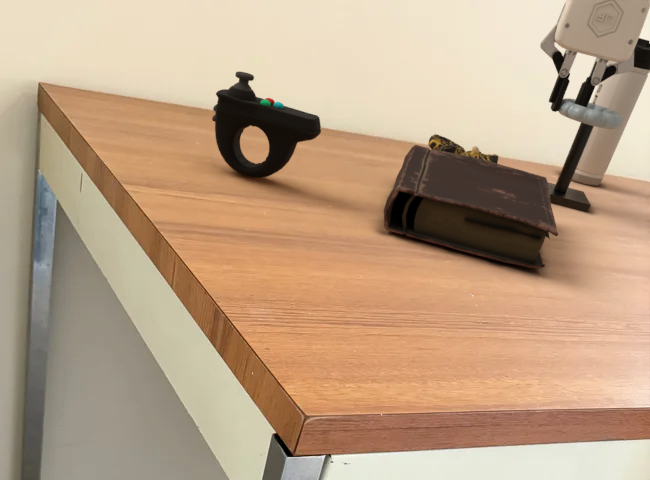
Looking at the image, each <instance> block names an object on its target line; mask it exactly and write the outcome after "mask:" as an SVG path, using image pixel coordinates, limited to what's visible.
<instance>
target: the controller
mask: <svg viewBox="0 0 650 480" xmlns="http://www.w3.org/2000/svg"><path fill="white" fill-rule="evenodd" d="M234 76H235V77H236V78H237V79H238V82H236V83H234V84H233V85H231V86H229V88H228V89H225V88H224V89H220V90H218V91H216V93H215V95H216V97H217V100H216V101H217V102H216V104H215V105H214V106H213V108H212V110H213V111H214V113H215V114H214V115H213V116H212V118H211V120H212V122H214V134H215V142H216V146H217V148H218V152H219V153H220V155H221V157H222V159H223V160H224V162H225V163H226V164H227V165H228V167H230V168H231V169H232V170H233V171H234V172H236V173H238V174H239V175H241V176H244V177H246V178H252V179H262V178H263V179H264V178H267V177H270V176H272V175H274V174H276V173H278V172H279V171H281V170H283V168H284V167H285V166H286V165H287V164H288V163H289V162H290V161H291V158H292V157H293V155H294V153H295V150H296V148H297V146H298V143H301V142H308V141H313V140H315V139H316V138H317V137H318V136H319V135H320V134H321V133H322V129H321V120H320V116H319V115H316V114H313V113H309V112H306V111H303V110H299V109H296V108H293V107H290V106H286V105H284V104H283V103H282V102H281V101H275V100H274V99H273V98H271V97H267V98H265V99H264V98H261V97H258V96H256V93H255V91H254V90H253V89H252V86H250V83H249V82H253V81H254V80H255V76H254V74H251V73H249V72H245V71H236V72H235V74H234ZM250 126H251V127H253V128H254V127H255V128H258V129H260V130H261V131H262V132H263V133H264V134H265V136H266V138H267V141H268V153H267V156H266V158H265V160H263V161H261V162H258V163H255V162H253V161H250V160H249V159H248V158H246V156H245V155H244V153H243V151H242V148H241V137H242V134H243V133H244V130H245V129H246V128H249V127H250Z"/></svg>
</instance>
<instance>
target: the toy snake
mask: <svg viewBox="0 0 650 480" xmlns="http://www.w3.org/2000/svg"><path fill="white" fill-rule="evenodd" d="M427 145H428V146H429V147H428V148H429V149H430V150H431V149H434V150H439V151H445V152H450V153H454V154H459V155H464V156H468V157H473V158H478V159H482V160H486V161H489V162H493V163H497V164H498V162H499V155H498V154H485V153H482V152H481V151H480V149H479V147H478V146H476V145H475V146H473V147H472V148H471V150H467V151H466V150H465V148H464V147H463V146H461V145H459V143H456V142H454V141H453V140H451V139H449V138H447V137H445V136H442V135H439V134H436V133H434V134H433V135H431V136H430V137H429V139H428V142H427Z"/></svg>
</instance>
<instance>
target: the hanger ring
mask: <svg viewBox="0 0 650 480" xmlns="http://www.w3.org/2000/svg"><path fill="white" fill-rule="evenodd" d="M575 100H576V98H568V97H567V98H563V100H562V102H561V105H560V108H559V110H558V111H557V112H558V113H559V114H560V115H561V116H563V117H566V118H568V119H570V120H572V121H576V122H579V123H580V124H581V123H584V124H588V125H592V126H595V127H600V128H605V129H617V128H619V127H620V126H621V125H622V123H623V117H622V116H621V115H620V114H619V113H618V112H616V111H613V110H611V109H608V108H605V107H602V106H599V105H596V104H593V103H591V102H589V103H588V106H587V108H586V107H583V106H580V105H577V104H575Z"/></svg>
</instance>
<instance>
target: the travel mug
mask: <svg viewBox="0 0 650 480" xmlns="http://www.w3.org/2000/svg"><path fill="white" fill-rule="evenodd" d="M615 63H619V62H614V61H608V63H607V65H609V64H615ZM649 74H650V40H648V39H644V38H641V37H639V39H638V41H637V44H636V46H635V48H634V68H633V70H632V71H630V72H626V73H621V74H616V75H613V76H611V77H609V78H608V79H606V80H604V81H603V82H601V83H600V84H599V85H597V86H596V90H595V92H594V94H593V97H592V100H591V102H590V103H593V104H596V105H599V106H602V107H605V108H608V109H611V110H613V111H616V112H618V113H619V114H620V115H621V116H622V117H623V123H622V125H621V126H620V127H619V128H617V129H605V128H600V127H595V126H594V127H593V130H592V132H591V134H590V137H589V139H588V142H587V144H586V146H585V149H584V151H583V154H582V156H581V158H580V161H579V163H578V166H577V168H576V170H575V173H574V175H573V178H572V180H571V181H572V182H576V183H579V184H583V185H586V186H593V187H597V186H600V185H601V184H602V181H603V180H604V177H605V174H606V172H607V170H608V168H609V166H610V164H611V161H612V159H613V156H614V154H615V152H616V150H617V148H618V145H619V143H620V140H621V138H622V136H623V134H624V132H625V128H626V127H627V124H628V122H629V120H630V117H631V115H632V113H633V111H634V109H635V107H636V104H637V102H638V100H639V97H640V96H641V93H642V90H643V89H644V86H645V84H646V81H647V79H648V77H649Z"/></svg>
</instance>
